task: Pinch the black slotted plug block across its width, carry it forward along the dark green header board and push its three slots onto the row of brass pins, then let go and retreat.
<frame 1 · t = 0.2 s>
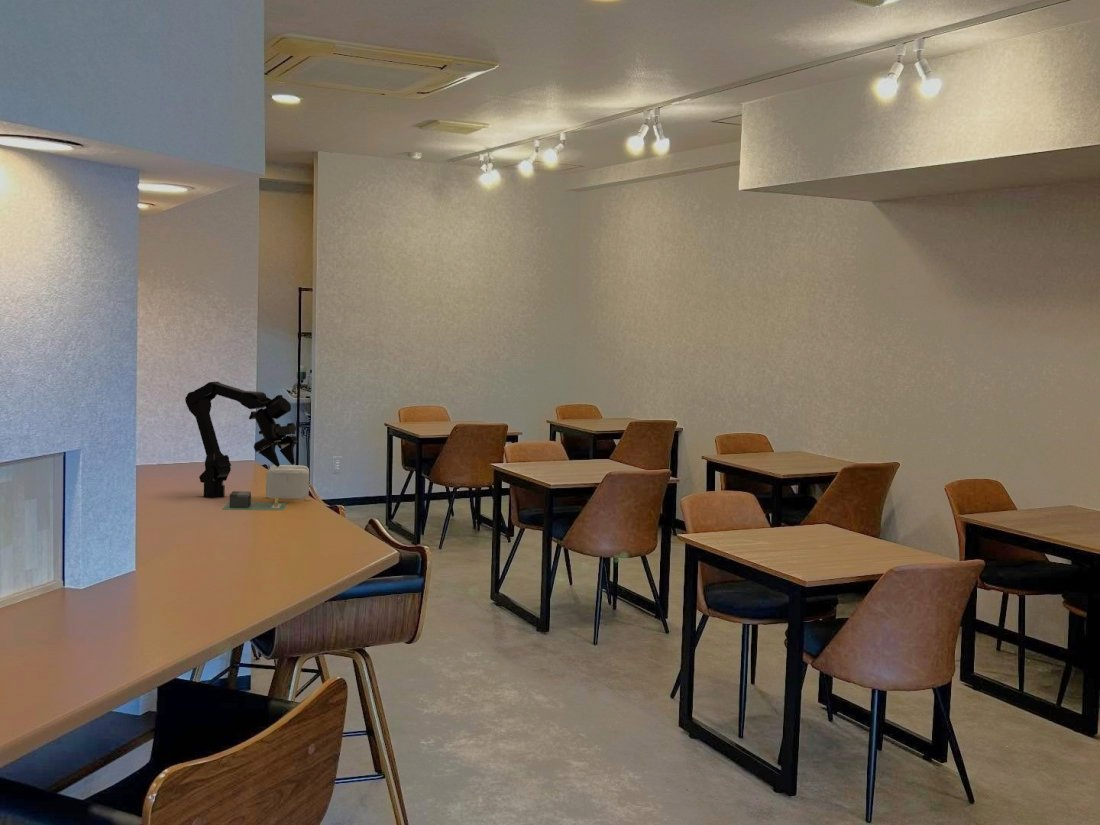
hand: (286, 465, 354), 15 cm above the table, tool tilted 30°, fingers open, 9 cm apart
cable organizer: (288, 499, 372), on the table
header board: (255, 508, 350), on the table
plug: (240, 506, 349), point 1 cm above the table, touching header board
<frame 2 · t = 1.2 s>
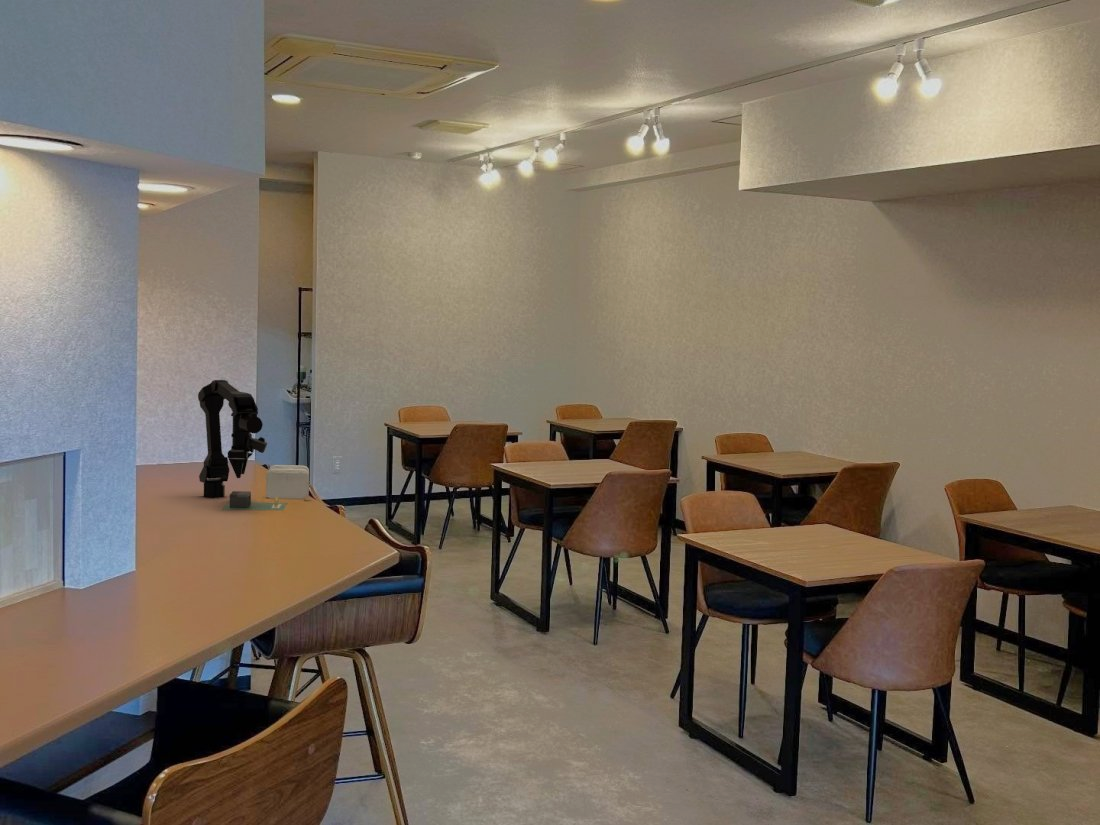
hand: (240, 476, 349), 11 cm above the table, tool pointing down, fingers open, 9 cm apart
nothing on the table moved.
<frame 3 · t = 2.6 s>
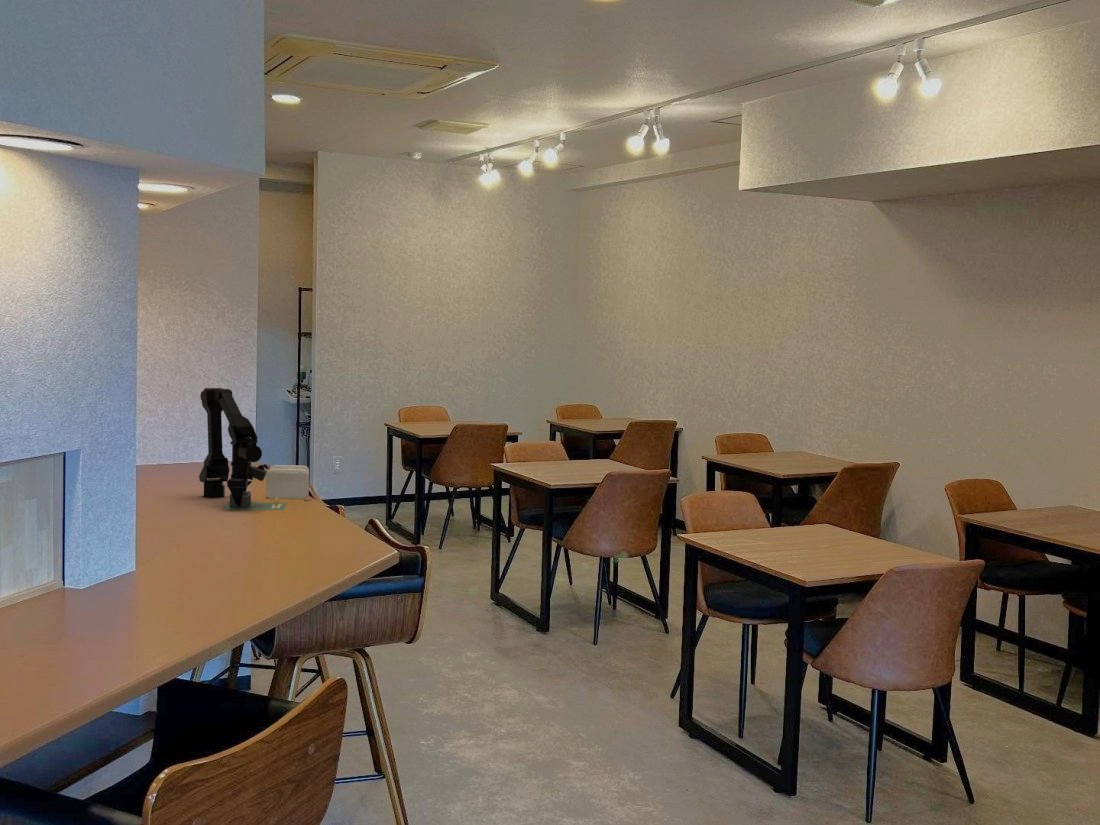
hand: (240, 504, 349), 1 cm above the table, tool pointing down, fingers closed on plug, 7 cm apart
plug: (240, 506, 349), point 1 cm above the table, touching gripper, header board
everything else where it was.
when the fingers open (2 cm above the table, at t = 7.7 s): plug stays where it is, resting on header board.
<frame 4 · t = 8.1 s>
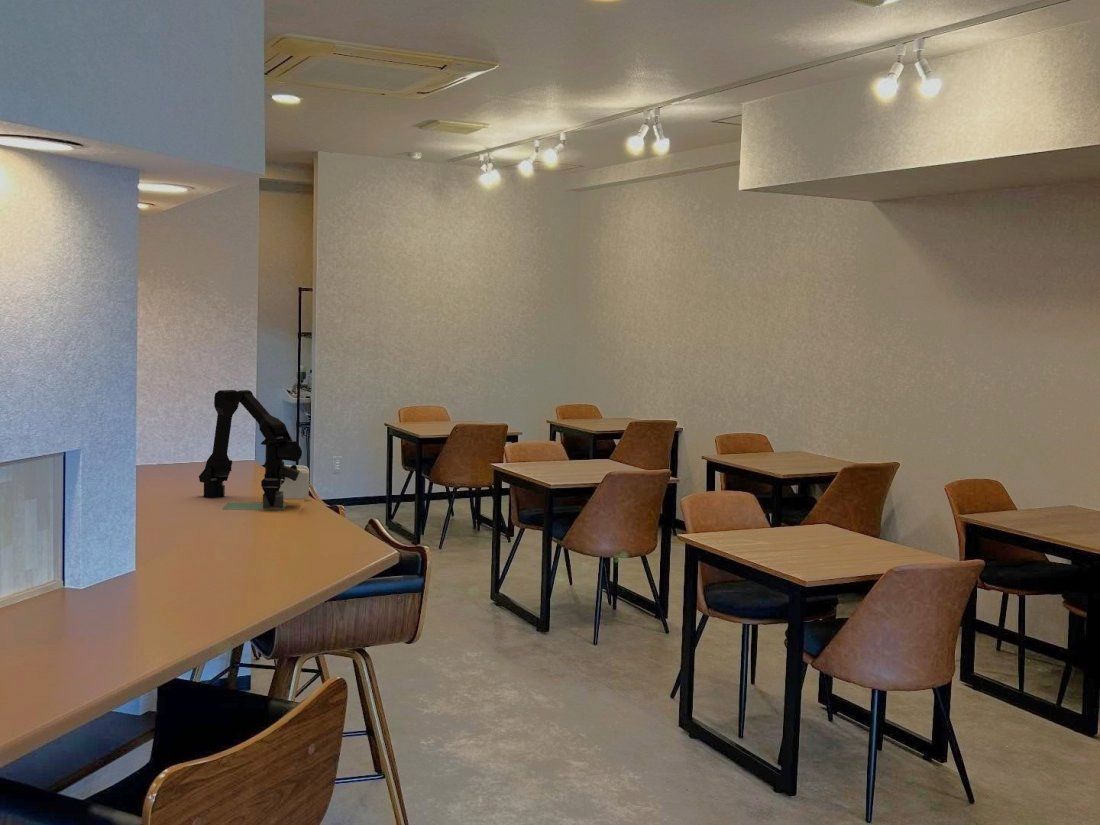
hand: (273, 503, 351), 2 cm above the table, tool pointing down, fingers open, 9 cm apart
plug: (273, 506, 351), point 1 cm above the table, touching header board
everything else where it was.
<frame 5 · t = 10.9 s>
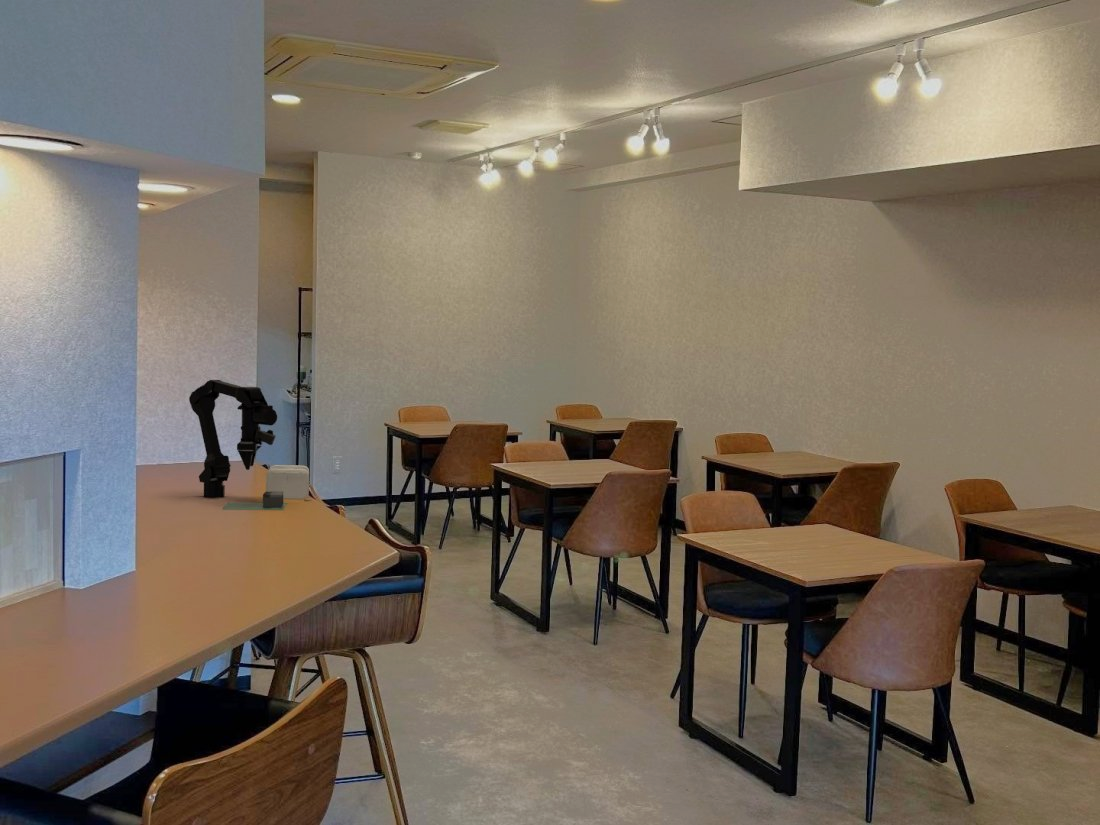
hand: (249, 467, 356), 13 cm above the table, tool pointing down, fingers open, 9 cm apart
nothing on the table moved.
at the end: plug 0.3 cm from the target spot on the header board, point 0.9 cm above the header board's base; plug tilted 2°; the gripper is holding nothing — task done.
